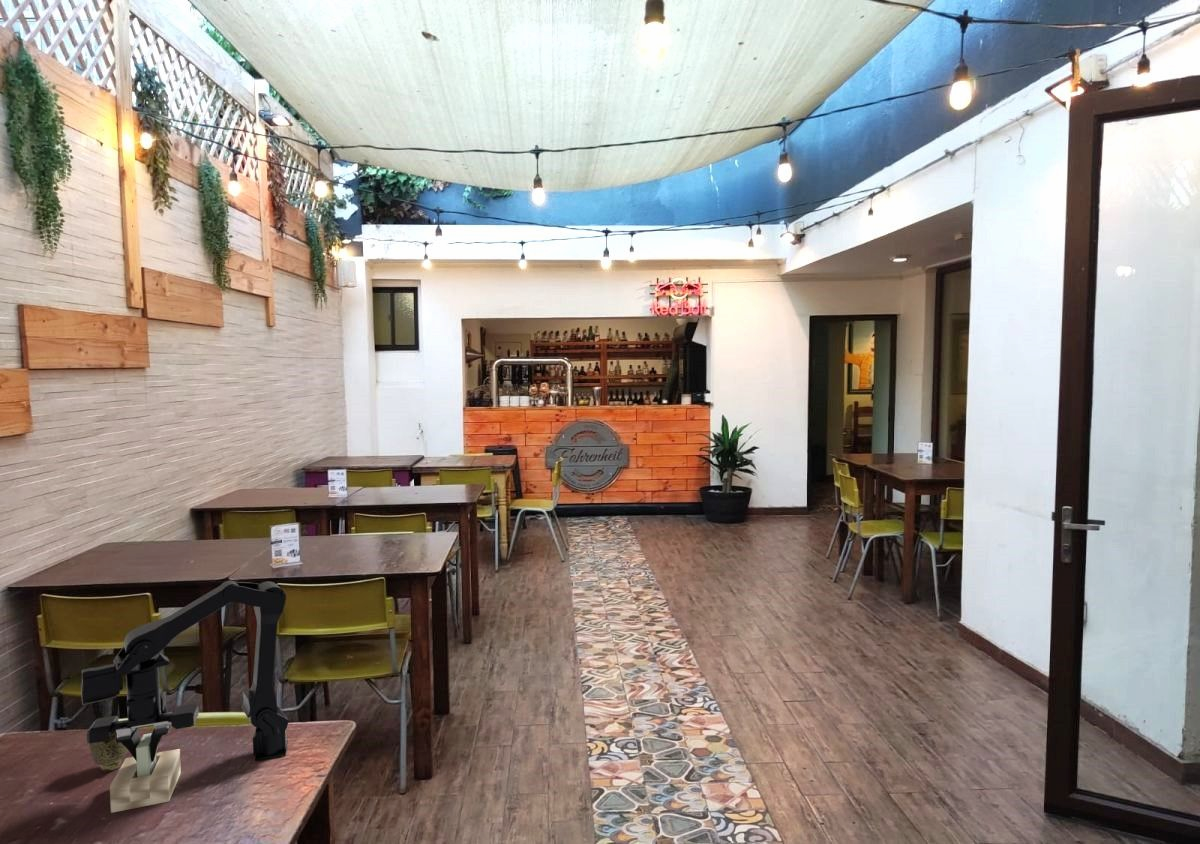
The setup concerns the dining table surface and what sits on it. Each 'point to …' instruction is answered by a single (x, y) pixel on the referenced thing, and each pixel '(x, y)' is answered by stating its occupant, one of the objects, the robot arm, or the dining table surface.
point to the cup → (108, 753)
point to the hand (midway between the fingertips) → (146, 762)
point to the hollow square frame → (145, 782)
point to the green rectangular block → (144, 757)
